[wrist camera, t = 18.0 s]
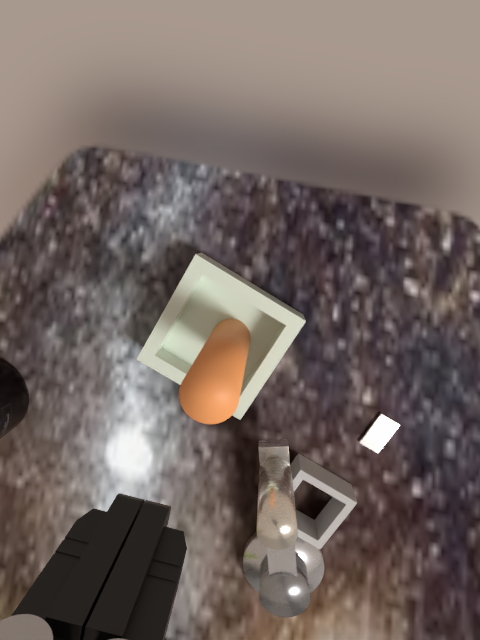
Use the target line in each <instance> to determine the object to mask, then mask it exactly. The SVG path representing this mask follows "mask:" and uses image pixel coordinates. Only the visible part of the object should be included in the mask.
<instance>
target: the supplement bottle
mask: <svg viewBox="0 0 480 640" xmlns="http://www.w3.org/2000/svg"><path fill="white" fill-rule="evenodd" d="M28 405H29V393H28V389H27V386H26V384H25V382H24V380H23V378H22V377H21V375H20V374H19V373H18V372H17V371H16V370H15V369H14V368H13V367H11V366H10V365H8V364H7V363H5V362H3V361H0V438H2V437H3V436H4V435H6V434H7V433H8V432H10V431H11V430H12V429H13V428H15V427H16V426H17V425H18V424H19V423H20V422H21V421H22V420H23V418H24V417H25V415H26V413H27V410H28Z"/></svg>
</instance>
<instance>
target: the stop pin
mask: <svg viewBox="0 0 480 640" xmlns="http://www.w3.org/2000/svg"><path fill="white" fill-rule="evenodd" d="M249 345H250V332H249V330H248V328H247V326H246V325H245V324H244V323H243V322H241V321H239V320H236V319H225V320H222V321H221V322H219V323H218V324H217V325H216V326H215V328H214V329H213V331H212V333H211V334H210V336H209V338H208V339H207V341H206V343H205V344H204V346H203V348H202V349H201V351H200V353H199V354H198V356H197V358H196V359H195V361H194V363H193V364H192V366H191V368H190V369H189V371H188V373H187V374H186V376H185V378H184V379H183V381H182V383H181V385H180V388H179V400H180V404H181V406H182V408H183V410H184V411H185V412H186V413H187V415H188V416H190V417H191V418H192V419H194V420H196V421H198V422H200V423H204V424H217V423H221V422H223V421H225V420H227V419H228V418H230V417H231V416H232V415H233V414H234V412H235V411H236V409H237V406H238V403H239V398H240V393H241V387H242V382H243V377H244V371H245V366H246V361H247V356H248V350H249Z"/></svg>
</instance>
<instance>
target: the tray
mask: <svg viewBox="0 0 480 640" xmlns="http://www.w3.org/2000/svg"><path fill="white" fill-rule="evenodd" d="M225 319H236V320H239V321H241V322H243V323H244V324H245V325H246V326H247V328H248V330H249V332H250V345H249V350H248V356H247V361H246V366H245V371H244V377H243V382H242V387H241V393H240V398H239V403H238V406H237V409H236V411H235V412H234V414H233V415H232V416H234V417H236V418H237V419H239V420H241V418H242V417H243V415H244V414H245V412H246V411H247V409H248V408H249V406H250V405H251V403H252V402H253V400H254V399H255V397H256V396H257V394H258V393H259V391H260V390H261V388H262V387H263V385H264V384H265V382H266V381H267V379H268V378H269V376H270V375H271V373H272V372H273V370H274V369H275V367H276V366H277V364H278V363H279V361H280V360H281V358H282V357H283V355H284V354H285V352H286V351H287V349H288V348H289V346H290V345H291V343H292V341H293V340H294V338H295V337H296V335H297V334H298V332H299V331H300V329H301V328H302V326H303V325H304V323H305V322H306V320H305V318H304V316H303V314H302V313H300V312H298V311H297V310H295V309H293V308H292V307H290V306H289V305H287V304H285V303H284V302H282V301H280V300H279V299H277V298H275V297H274V296H272V295H270V294H269V293H267V292H266V291H264V290H262V289H261V288H259V287H257V286H256V285H254V284H252V283H251V282H249V281H247V280H246V279H244V278H243V277H241V276H239V275H238V274H236V273H234V272H233V271H231V270H229V269H228V268H226V267H224V266H223V265H221V264H220V263H218V262H216V261H215V260H213V259H211V258H210V257H208V256H206V255H205V254H203V253H198V254H195V256H194V258H193V260H192V261H191V263H190V265H189V267H188V269H187V270H186V272H185V274H184V276H183V277H182V279H181V281H180V283H179V285H178V286H177V288H176V290H175V292H174V293H173V295H172V297H171V299H170V301H169V302H168V304H167V306H166V308H165V310H164V311H163V313H162V315H161V317H160V318H159V320H158V322H157V324H156V326H155V327H154V329H153V331H152V333H151V335H150V336H149V338H148V340H147V342H146V343H145V345H144V347H143V349H142V351H141V352H140V354H139V356H138V358H137V360H139V361H140V362H142V363H144V364H145V365H147V366H149V367H150V368H152V369H154V370H156V371H157V372H159V373H161V374H162V375H164V376H166V377H167V378H169V379H171V380H173V381H174V382H176V383H178V384H179V385H181V383H182V381H183V379H184V378H185V376H186V374H187V373H188V371H189V369H190V368H191V366H192V364H193V363H194V361H195V359H196V358H197V356H198V354H199V353H200V351H201V349H202V348H203V346H204V344H205V343H206V341H207V339H208V338H209V336H210V334H211V333H212V331H213V329H214V328H215V326H216V325H217V324H218V323H219V322H221V321H222V320H225Z"/></svg>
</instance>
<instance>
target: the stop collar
mask: <svg viewBox="0 0 480 640" xmlns="http://www.w3.org/2000/svg"><path fill="white" fill-rule="evenodd" d="M290 466H291V470H292V480H293V490H294V491H295V490H296V488H297V487H298V486H299V484H300V483H301V481H302V480H305V481H307V482H308V483H310V484H312V485H314V486H315V487H317V488H319V489H320V490H322V491H324V492H326V493H327V494H329V495H331V496H332V498H331V500H330V501H329V502H328V503H327V505H326V506H325V507H324V509H323V510H322V511H321V512H320V514H319V515H318V516H317V518H316V519H315V520H314V519H312V518H310V517H308V516H307V515H305V514H303V513H302V512H300V511H298V510H296V509H295V510H296V520H297V530H298V536H297V537H299V538H301V539H303V540H304V541H306V542H308V543H310V544H311V545H313V546H315V547H316V548H318V549H321V548H322V547H323V545H324V544H325V543H326V542H327V540H328V539H329V538H330V537H331V535H332V534H333V533H334V532H335V530H336V529H337V528H338V527H339V525H340V524H341V523H342V521H343V520H344V519H345V518H346V516H347V515H348V514H349V513H350V511H351V510H352V509H353V508H354V506H355V505H356V504H357V500H356V497H355V494H354V491H353V488H352V485H351V484H350V483H348V482H346V481H345V480H343V479H341V478H340V477H338V476H336V475H334V474H333V473H331V472H329V471H328V470H326V469H324V468H323V467H321V466H319V465H317V464H316V463H314V462H312V461H311V460H309V459H307V458H306V457H304V456H302V455H300V454H299V453H298V455H297V456H296V457H295V459H294V460H293V462H292V463H291V464H290Z"/></svg>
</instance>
